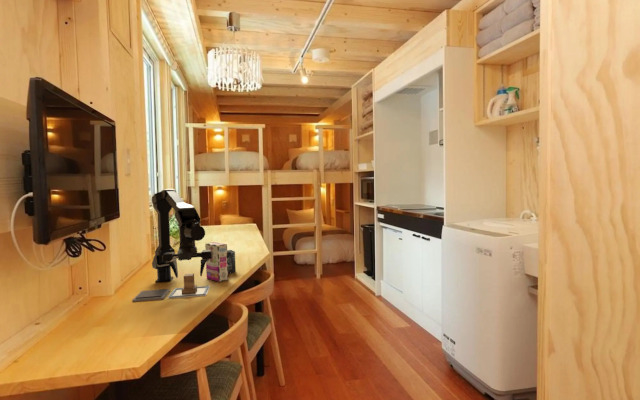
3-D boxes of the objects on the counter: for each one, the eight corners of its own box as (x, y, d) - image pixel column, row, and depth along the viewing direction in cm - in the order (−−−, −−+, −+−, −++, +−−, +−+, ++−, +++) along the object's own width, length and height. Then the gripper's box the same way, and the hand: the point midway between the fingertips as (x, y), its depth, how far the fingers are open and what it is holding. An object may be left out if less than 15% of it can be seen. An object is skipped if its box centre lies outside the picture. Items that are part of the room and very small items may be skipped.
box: (220, 275, 173) (219, 253, 172) (216, 273, 177) (215, 251, 177) (236, 272, 177) (235, 251, 176) (232, 270, 182) (231, 249, 181)
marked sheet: (174, 289, 151) (174, 288, 151) (210, 286, 154) (210, 285, 154) (167, 298, 139) (167, 297, 139) (206, 295, 142) (206, 294, 142)
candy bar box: (229, 280, 164) (227, 243, 163) (219, 282, 160) (217, 245, 159) (215, 276, 171) (214, 241, 171) (206, 278, 168) (204, 243, 167)
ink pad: (141, 293, 148) (141, 290, 148) (170, 290, 150) (169, 288, 149) (132, 301, 137) (132, 298, 137) (163, 299, 139) (163, 296, 139)
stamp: (184, 290, 149) (183, 273, 148) (197, 289, 149) (196, 272, 149) (181, 294, 144) (181, 276, 143) (195, 293, 144) (194, 276, 144)
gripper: (157, 242, 136) (159, 284, 137) (208, 240, 139) (210, 280, 140) (164, 238, 147) (166, 276, 148) (212, 235, 150) (214, 273, 151)
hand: (189, 276), depth 146 cm, fingers open, 9 cm apart
